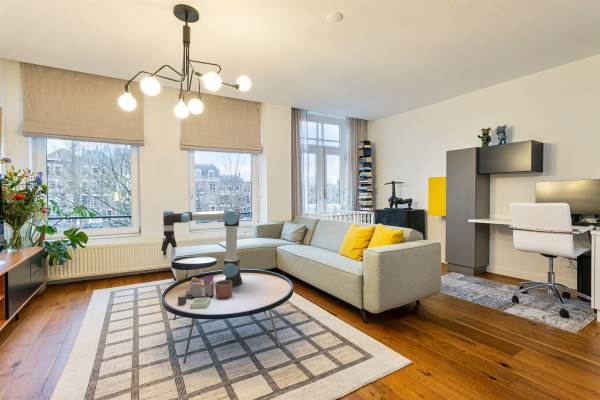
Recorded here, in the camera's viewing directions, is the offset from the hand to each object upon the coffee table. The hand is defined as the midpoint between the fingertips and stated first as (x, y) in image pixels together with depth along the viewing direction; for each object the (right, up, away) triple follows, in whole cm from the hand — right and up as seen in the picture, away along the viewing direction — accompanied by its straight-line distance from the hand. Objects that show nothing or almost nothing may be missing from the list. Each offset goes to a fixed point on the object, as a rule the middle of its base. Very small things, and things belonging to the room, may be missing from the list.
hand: (169, 257), depth 227 cm
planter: (+46, -27, -12) cm, 55 cm away
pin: (+34, -27, -21) cm, 48 cm away
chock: (+21, -28, -26) cm, 43 cm away
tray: (+34, -28, -29) cm, 53 cm away
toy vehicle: (+28, -28, -12) cm, 41 cm away
